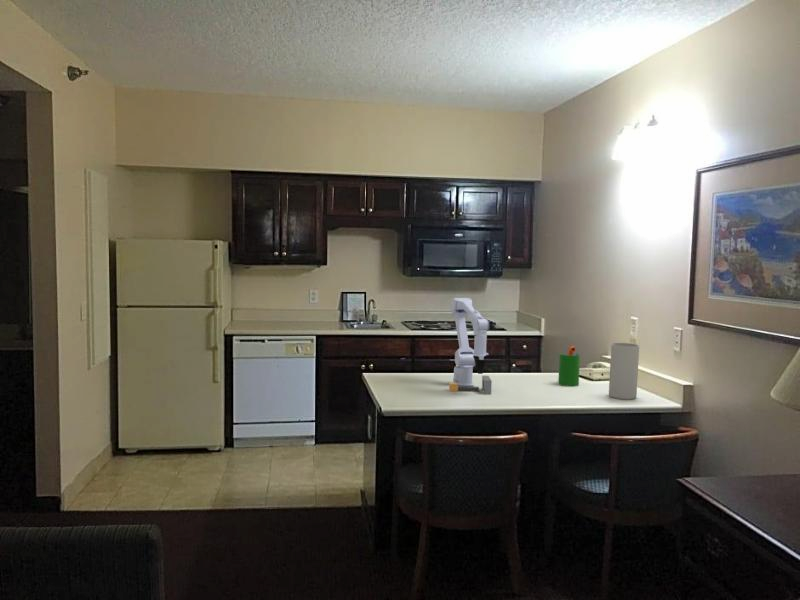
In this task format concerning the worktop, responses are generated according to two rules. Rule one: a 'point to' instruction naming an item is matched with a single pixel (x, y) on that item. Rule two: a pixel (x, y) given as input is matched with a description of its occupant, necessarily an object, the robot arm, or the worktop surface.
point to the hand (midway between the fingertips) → (479, 372)
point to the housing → (486, 384)
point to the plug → (462, 388)
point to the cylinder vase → (623, 371)
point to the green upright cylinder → (569, 368)
